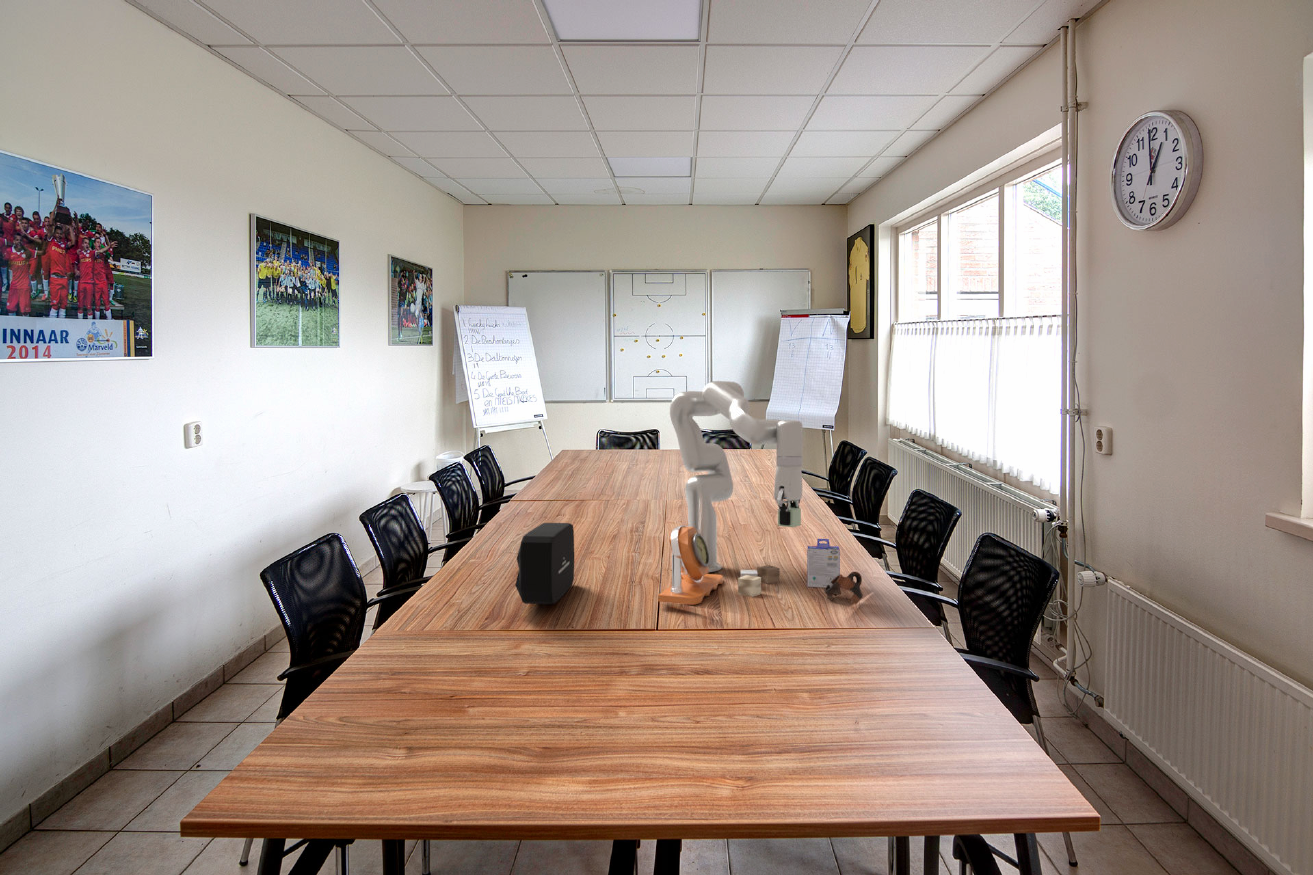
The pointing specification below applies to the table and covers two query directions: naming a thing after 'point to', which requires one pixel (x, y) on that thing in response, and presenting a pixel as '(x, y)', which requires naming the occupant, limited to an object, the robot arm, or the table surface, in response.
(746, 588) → the maple cube
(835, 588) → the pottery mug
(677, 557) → the desk clock
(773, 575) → the walnut cube
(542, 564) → the black hard case
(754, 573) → the grey cube
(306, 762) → the table surface
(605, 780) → the table surface
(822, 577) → the ink cartridge box
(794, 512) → the sage cube
